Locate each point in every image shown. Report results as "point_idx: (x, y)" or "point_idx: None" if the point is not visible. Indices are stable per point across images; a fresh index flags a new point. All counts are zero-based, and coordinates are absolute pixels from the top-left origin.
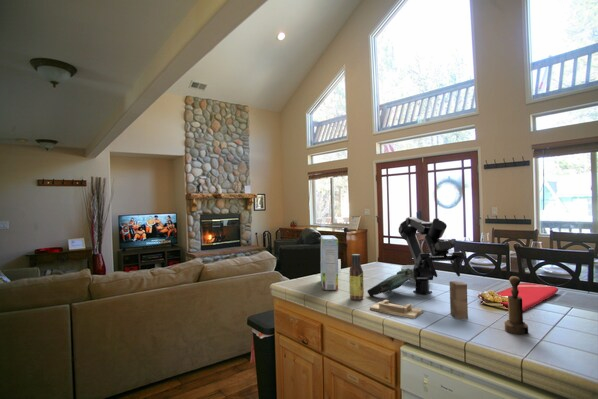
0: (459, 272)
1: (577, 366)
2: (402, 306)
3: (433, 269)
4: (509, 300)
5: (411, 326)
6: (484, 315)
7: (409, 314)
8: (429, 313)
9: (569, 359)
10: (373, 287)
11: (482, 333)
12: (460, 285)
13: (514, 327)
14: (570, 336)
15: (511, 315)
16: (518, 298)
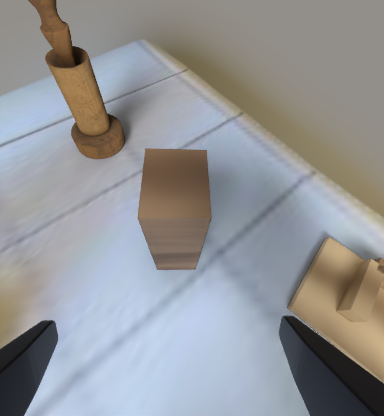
0: (19, 339)
1: (128, 53)
2: (375, 356)
3: (360, 372)
4: (91, 67)
5: (335, 188)
6: (88, 244)
7: (345, 251)
8: (266, 285)
9: (119, 63)
10: None
11: (185, 140)
12: (183, 152)
13: (116, 118)
14: (18, 111)
15: (104, 106)
16: (54, 62)
